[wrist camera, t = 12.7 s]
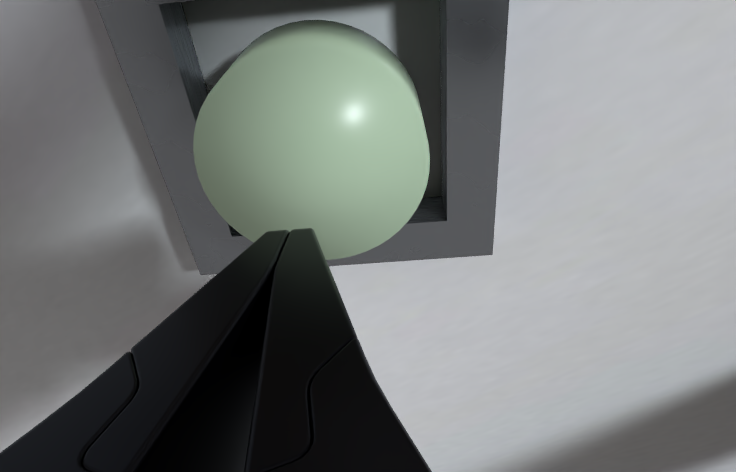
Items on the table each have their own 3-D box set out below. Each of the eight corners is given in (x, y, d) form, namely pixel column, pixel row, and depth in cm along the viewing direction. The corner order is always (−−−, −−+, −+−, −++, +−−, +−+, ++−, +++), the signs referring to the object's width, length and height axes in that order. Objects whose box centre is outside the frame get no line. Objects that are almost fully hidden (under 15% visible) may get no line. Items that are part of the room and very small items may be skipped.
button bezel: (501, -112, 12) (516, -113, 10) (484, 229, 17) (492, 254, 16) (101, -66, 12) (71, -61, 11) (212, 249, 18) (200, 274, 17)
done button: (417, 8, 12) (426, 33, 10) (424, 203, 15) (432, 252, 13) (194, 31, 12) (158, 59, 10) (247, 217, 15) (228, 266, 13)
